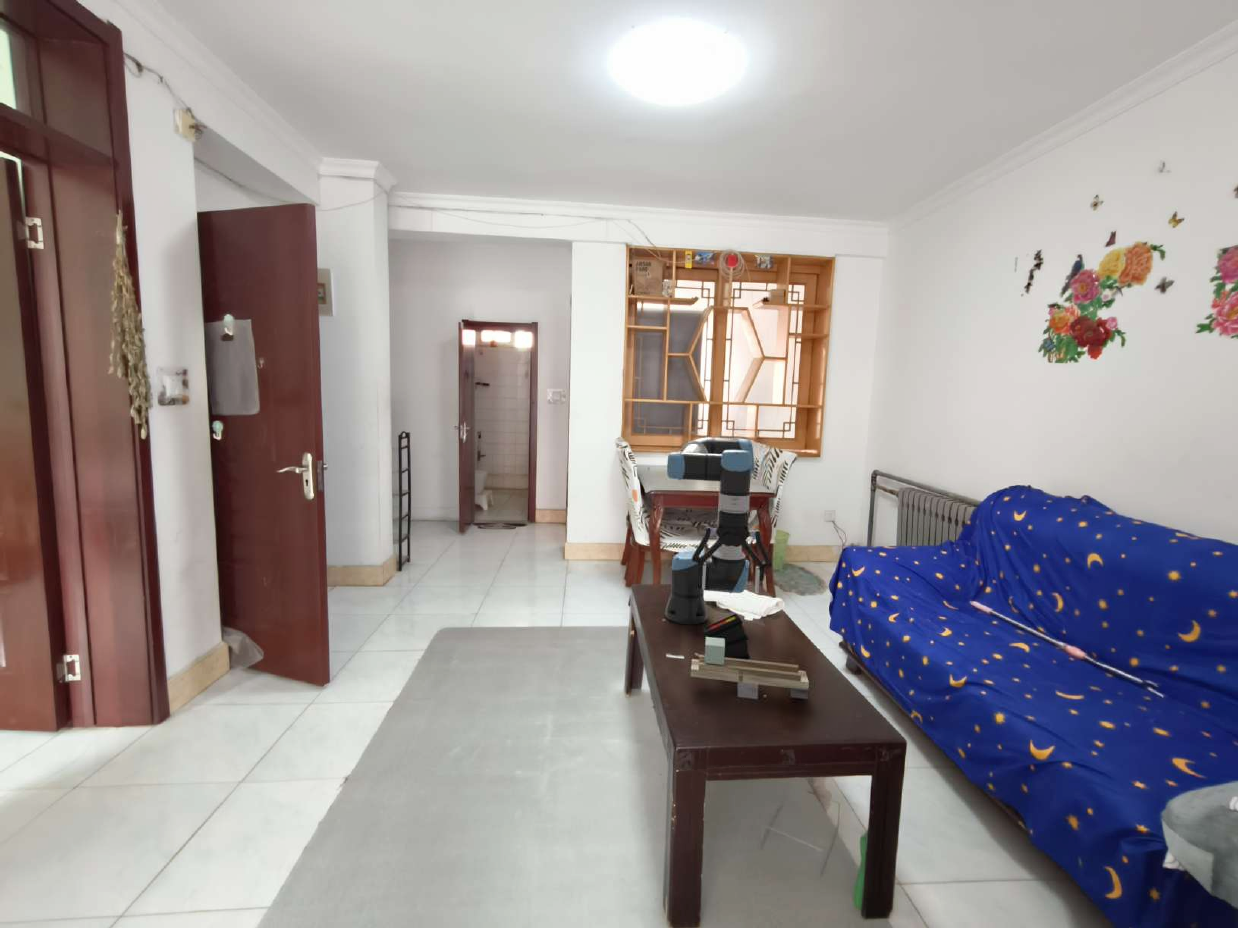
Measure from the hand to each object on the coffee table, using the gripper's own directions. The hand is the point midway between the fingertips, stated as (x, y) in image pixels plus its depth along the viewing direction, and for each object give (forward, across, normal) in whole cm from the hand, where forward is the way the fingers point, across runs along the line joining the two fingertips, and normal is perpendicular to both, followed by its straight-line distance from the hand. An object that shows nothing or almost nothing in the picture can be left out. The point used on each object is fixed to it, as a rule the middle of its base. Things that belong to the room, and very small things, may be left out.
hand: (729, 590), depth 142 cm
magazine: (+28, 0, +16) cm, 32 cm away
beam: (+28, +6, +1) cm, 29 cm away
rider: (+22, -3, +1) cm, 22 cm away
